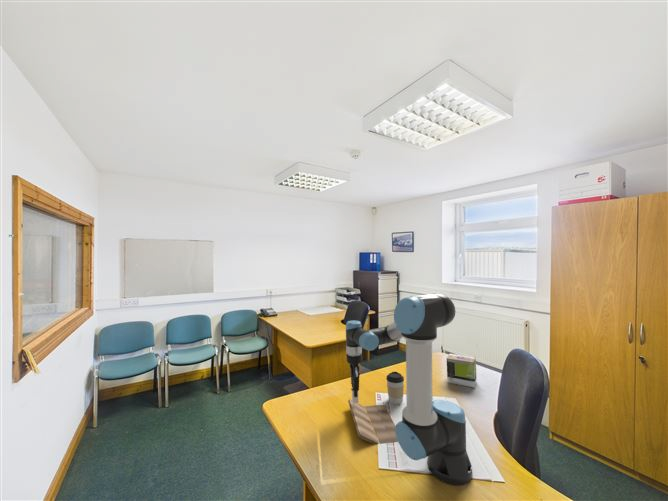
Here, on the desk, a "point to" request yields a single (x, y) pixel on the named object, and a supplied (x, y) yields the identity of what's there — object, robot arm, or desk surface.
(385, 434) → the laid board
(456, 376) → the tea box
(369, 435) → the plank near
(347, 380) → the desk surface
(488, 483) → the desk surface
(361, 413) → the plank far
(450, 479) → the robot arm
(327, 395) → the desk surface
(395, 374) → the coffee cup
